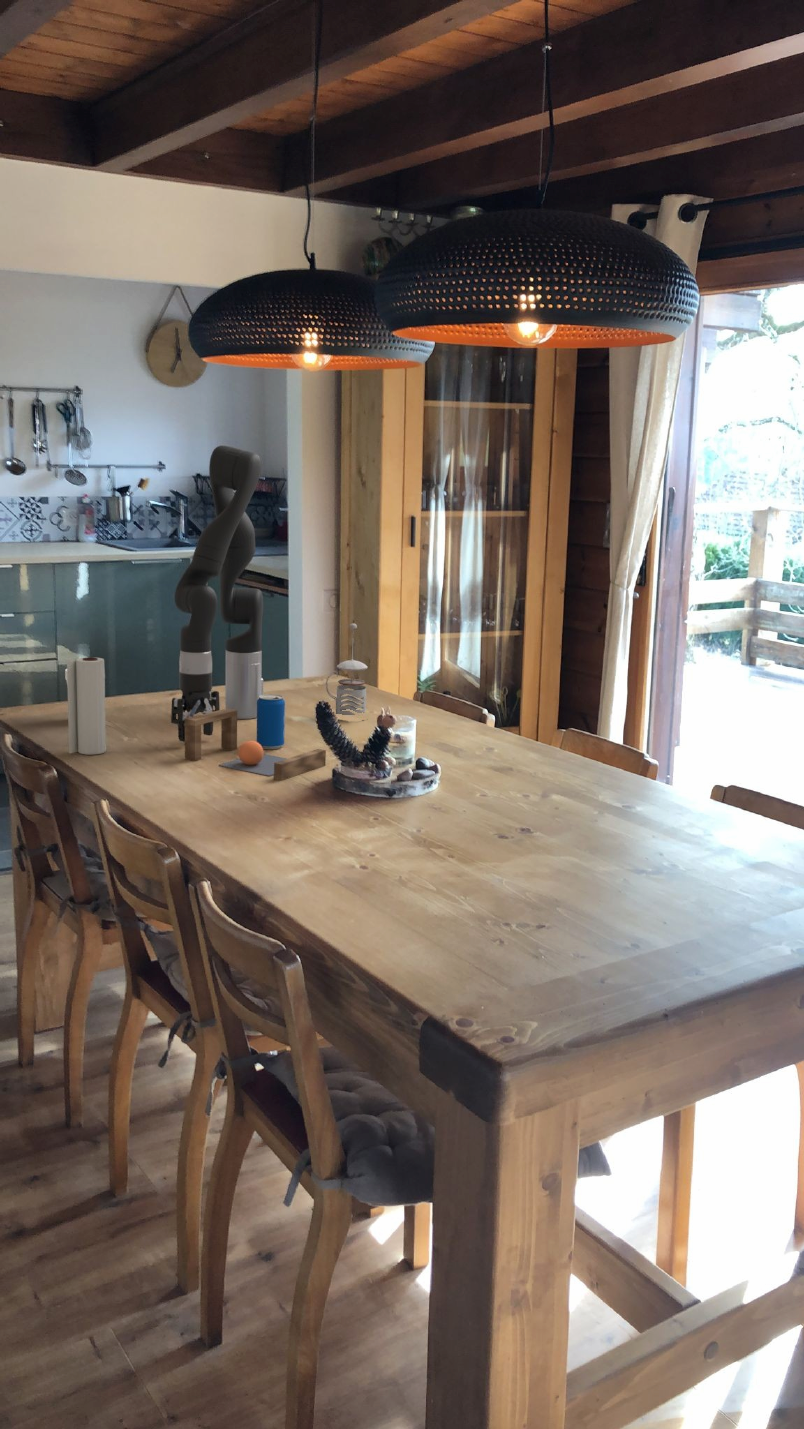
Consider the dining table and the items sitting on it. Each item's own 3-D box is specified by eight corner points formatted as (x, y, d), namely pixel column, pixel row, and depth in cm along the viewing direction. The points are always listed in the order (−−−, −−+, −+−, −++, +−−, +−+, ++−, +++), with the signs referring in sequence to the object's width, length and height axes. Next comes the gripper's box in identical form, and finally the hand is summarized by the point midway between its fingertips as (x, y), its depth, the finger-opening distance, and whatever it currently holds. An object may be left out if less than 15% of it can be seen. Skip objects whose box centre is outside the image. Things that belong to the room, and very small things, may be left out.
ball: (271, 747, 262) (264, 769, 263) (256, 736, 265) (249, 758, 267) (252, 747, 258) (245, 770, 259) (237, 736, 261) (230, 758, 263)
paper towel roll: (109, 749, 272) (108, 657, 267) (100, 756, 266) (98, 661, 261) (78, 747, 272) (76, 655, 268) (69, 754, 266) (66, 659, 262)
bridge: (184, 759, 266) (184, 718, 264) (226, 746, 278) (227, 708, 276) (195, 761, 265) (195, 720, 263) (236, 748, 277) (237, 710, 275)
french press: (368, 722, 309) (371, 626, 304) (323, 720, 309) (326, 625, 304) (370, 714, 319) (373, 621, 313) (326, 712, 319) (328, 619, 313)
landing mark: (258, 753, 273) (258, 752, 273) (308, 763, 266) (308, 762, 266) (218, 765, 261) (218, 764, 261) (269, 776, 254) (269, 775, 254)
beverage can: (282, 750, 277) (283, 699, 274) (254, 749, 277) (255, 698, 274) (285, 744, 283) (286, 694, 281) (258, 742, 283) (259, 693, 281)
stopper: (318, 764, 266) (318, 748, 265) (325, 765, 265) (325, 750, 264) (273, 778, 253) (274, 762, 252) (281, 780, 252) (281, 764, 251)
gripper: (187, 676, 269) (187, 746, 272) (228, 667, 280) (227, 735, 284) (162, 671, 272) (162, 741, 276) (203, 664, 284) (203, 730, 288)
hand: (195, 738), depth 280 cm, fingers open, 8 cm apart
